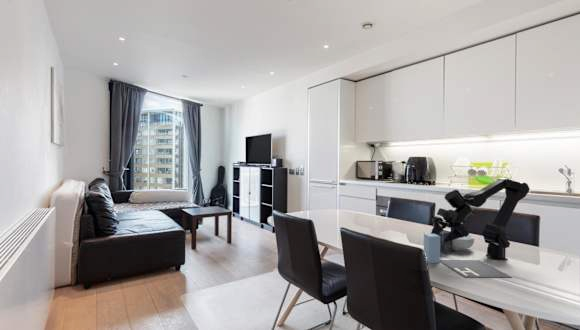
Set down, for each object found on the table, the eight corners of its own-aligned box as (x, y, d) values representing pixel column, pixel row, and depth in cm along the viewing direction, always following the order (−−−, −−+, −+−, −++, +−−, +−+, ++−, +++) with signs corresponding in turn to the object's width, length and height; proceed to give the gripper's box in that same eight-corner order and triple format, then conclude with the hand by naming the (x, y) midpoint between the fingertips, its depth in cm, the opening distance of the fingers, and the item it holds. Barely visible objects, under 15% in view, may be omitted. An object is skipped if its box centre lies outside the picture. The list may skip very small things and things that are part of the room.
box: (431, 249, 149) (431, 229, 149) (439, 248, 150) (440, 228, 150) (443, 253, 141) (443, 232, 141) (452, 252, 143) (452, 231, 143)
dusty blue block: (434, 259, 133) (434, 233, 133) (439, 262, 128) (440, 236, 128) (423, 259, 133) (424, 233, 133) (428, 262, 128) (429, 236, 128)
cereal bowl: (481, 253, 142) (481, 239, 142) (447, 252, 143) (448, 238, 143) (461, 243, 159) (462, 231, 159) (431, 243, 160) (432, 230, 160)
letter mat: (479, 260, 132) (479, 260, 132) (511, 277, 113) (511, 276, 113) (438, 260, 131) (438, 259, 131) (464, 277, 112) (464, 276, 112)
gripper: (435, 199, 141) (414, 222, 139) (464, 205, 122) (440, 231, 121) (449, 215, 142) (428, 238, 141) (479, 223, 124) (456, 249, 122)
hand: (437, 238), depth 131 cm, fingers open, 9 cm apart
